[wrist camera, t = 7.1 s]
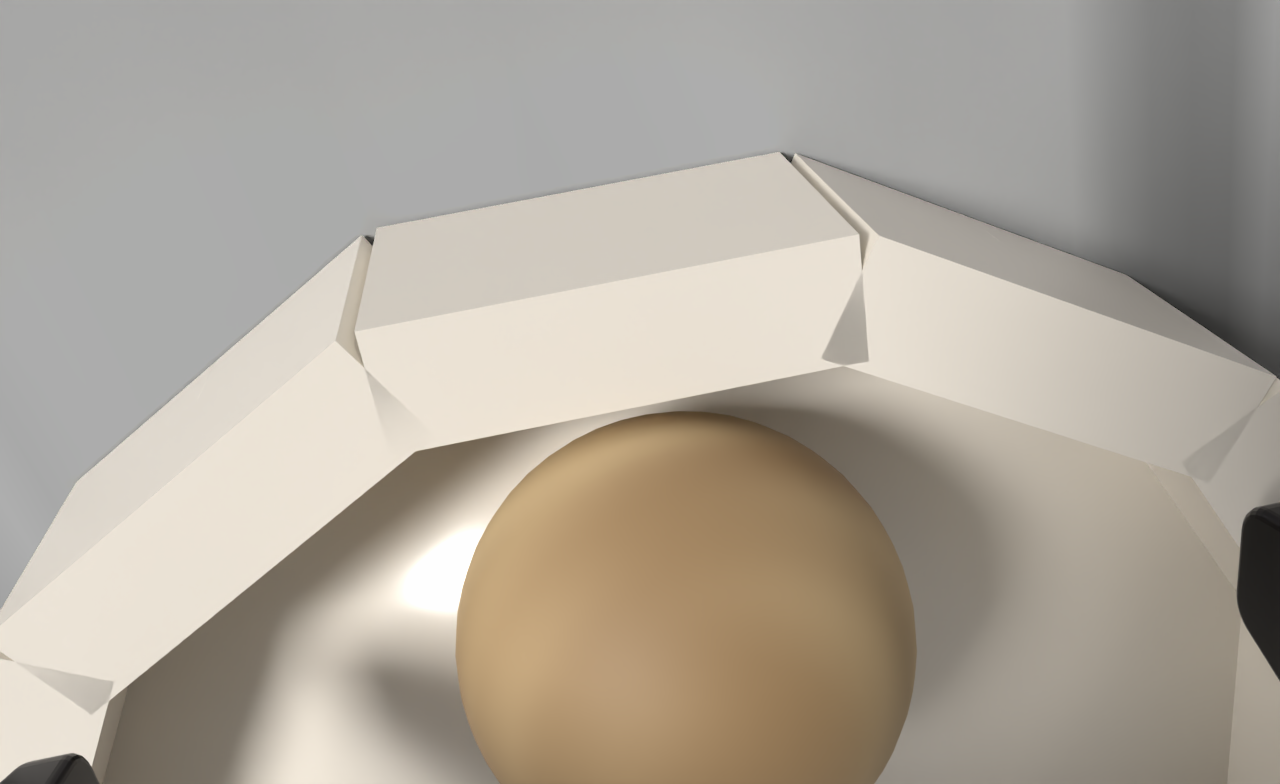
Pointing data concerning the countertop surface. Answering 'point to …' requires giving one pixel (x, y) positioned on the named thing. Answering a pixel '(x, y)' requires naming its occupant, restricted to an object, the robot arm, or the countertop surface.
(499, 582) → the oak bead
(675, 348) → the groove tray
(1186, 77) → the countertop surface
